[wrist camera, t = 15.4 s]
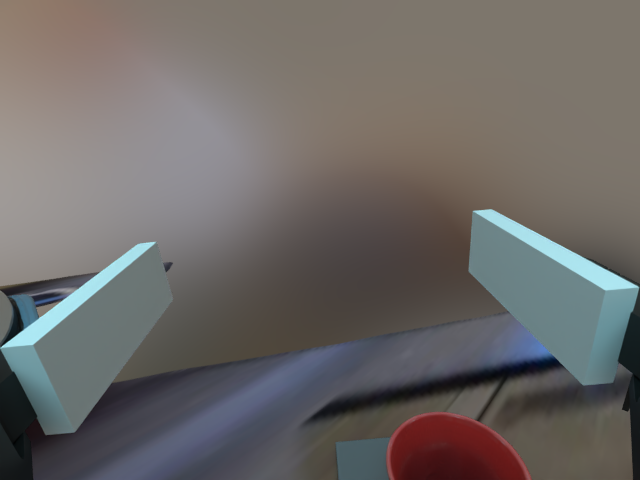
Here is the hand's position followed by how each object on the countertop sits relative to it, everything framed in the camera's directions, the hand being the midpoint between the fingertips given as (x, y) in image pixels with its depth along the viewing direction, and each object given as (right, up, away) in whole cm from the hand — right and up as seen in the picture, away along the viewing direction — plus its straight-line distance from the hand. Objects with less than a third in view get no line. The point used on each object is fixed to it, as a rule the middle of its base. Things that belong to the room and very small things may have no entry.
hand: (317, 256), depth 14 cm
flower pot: (+12, -27, +16) cm, 33 cm away
